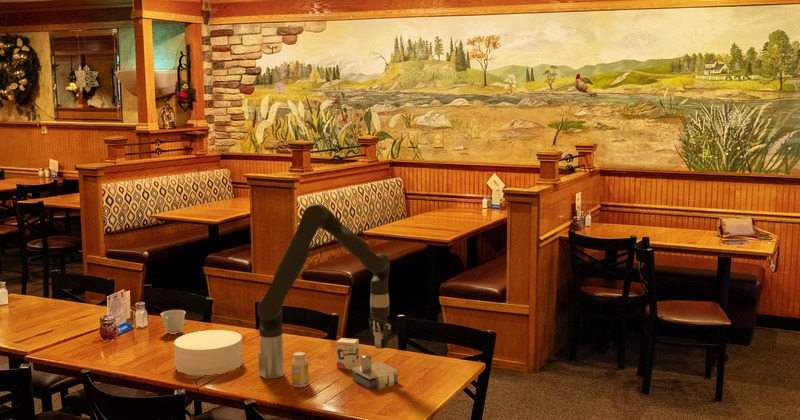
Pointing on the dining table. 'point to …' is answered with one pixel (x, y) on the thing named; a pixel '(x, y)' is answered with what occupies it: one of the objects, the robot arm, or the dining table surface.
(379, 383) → the scale base
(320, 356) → the dining table surface
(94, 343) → the dining table surface
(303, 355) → the supplement bottle
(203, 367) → the plate stack
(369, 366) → the cylinder
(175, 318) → the teacup
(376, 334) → the cylinder
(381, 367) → the pan
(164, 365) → the dining table surface
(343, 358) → the ink box
